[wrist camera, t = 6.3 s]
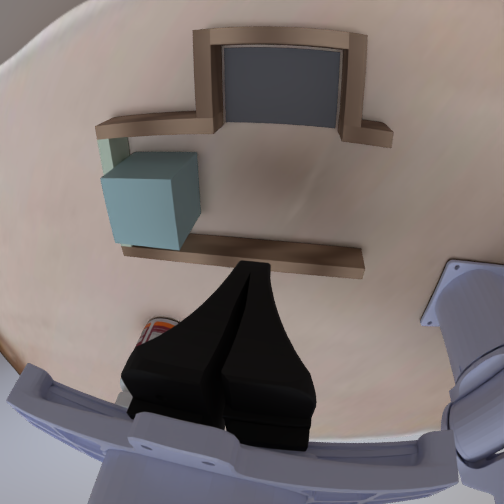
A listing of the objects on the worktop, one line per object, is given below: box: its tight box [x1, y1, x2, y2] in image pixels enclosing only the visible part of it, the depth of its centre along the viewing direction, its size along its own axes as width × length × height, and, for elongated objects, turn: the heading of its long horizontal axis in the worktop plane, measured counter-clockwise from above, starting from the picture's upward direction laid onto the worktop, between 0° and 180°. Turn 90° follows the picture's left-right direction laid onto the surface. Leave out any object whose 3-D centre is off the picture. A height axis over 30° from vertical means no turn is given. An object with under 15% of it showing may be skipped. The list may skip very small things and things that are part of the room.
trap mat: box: [224, 47, 340, 128], centre depth 17 cm, size 7×5×1 cm
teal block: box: [100, 152, 201, 250], centre depth 21 cm, size 5×5×5 cm
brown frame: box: [95, 27, 394, 279], centre depth 19 cm, size 19×16×2 cm
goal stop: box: [97, 137, 133, 247], centre depth 22 cm, size 1×9×2 cm, turn 1°
